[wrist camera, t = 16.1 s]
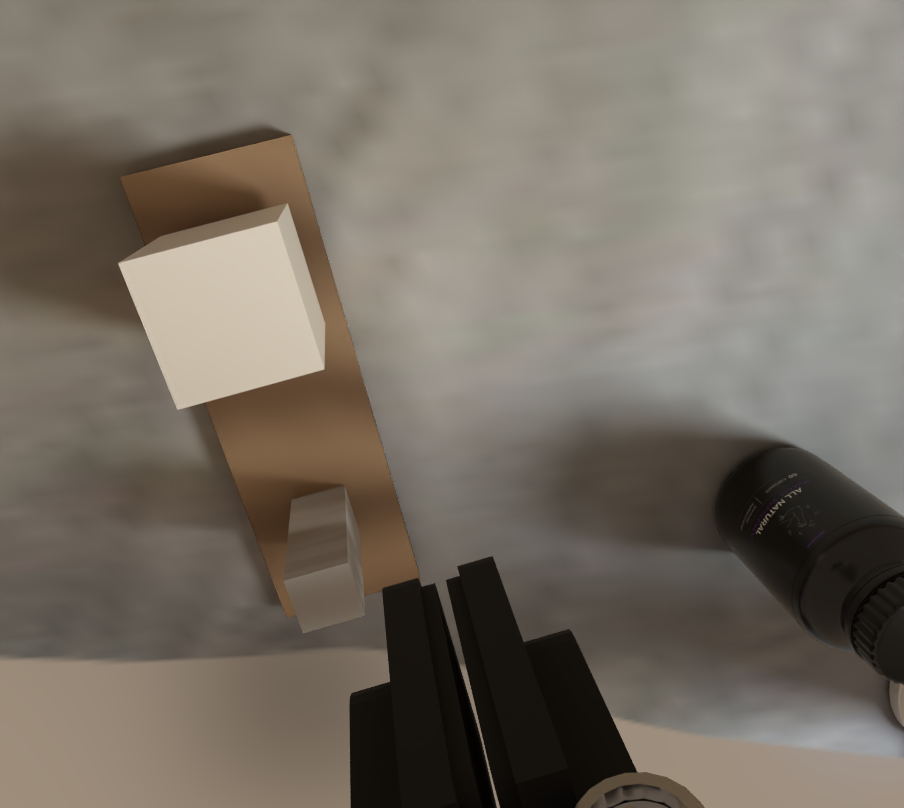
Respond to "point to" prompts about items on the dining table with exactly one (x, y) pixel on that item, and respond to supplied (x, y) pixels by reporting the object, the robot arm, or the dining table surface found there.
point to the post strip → (294, 406)
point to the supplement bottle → (821, 551)
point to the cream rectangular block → (228, 306)
